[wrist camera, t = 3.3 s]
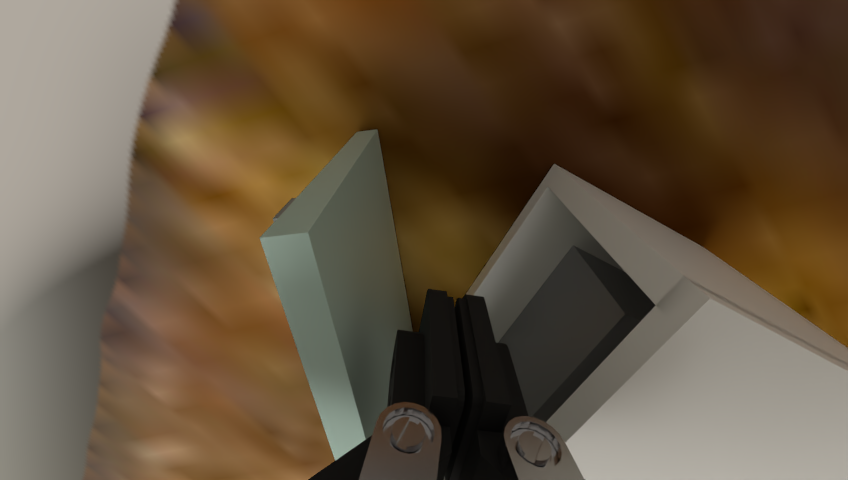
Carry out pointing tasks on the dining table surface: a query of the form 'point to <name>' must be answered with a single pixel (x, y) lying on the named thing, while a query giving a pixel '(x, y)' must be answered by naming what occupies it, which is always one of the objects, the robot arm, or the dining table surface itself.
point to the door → (342, 287)
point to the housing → (659, 349)
